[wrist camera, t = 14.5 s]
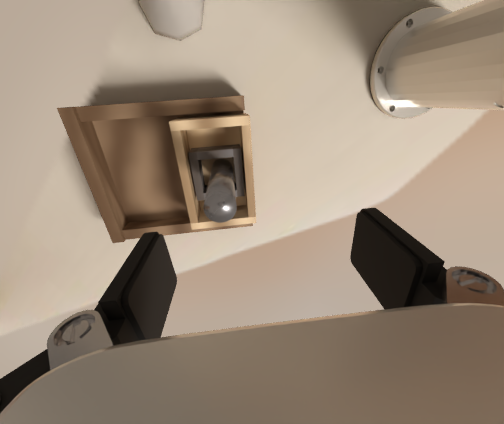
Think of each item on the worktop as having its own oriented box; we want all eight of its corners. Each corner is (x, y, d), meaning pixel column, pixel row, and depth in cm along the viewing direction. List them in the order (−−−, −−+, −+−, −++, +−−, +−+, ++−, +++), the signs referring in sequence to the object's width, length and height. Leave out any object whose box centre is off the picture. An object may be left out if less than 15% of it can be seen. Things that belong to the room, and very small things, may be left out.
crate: (245, 113, 30) (249, 115, 25) (252, 207, 36) (256, 222, 32) (177, 118, 29) (168, 121, 25) (196, 213, 35) (191, 229, 31)
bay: (241, 96, 30) (244, 95, 26) (250, 215, 38) (253, 227, 35) (78, 107, 29) (56, 108, 25) (124, 228, 37) (112, 242, 33)
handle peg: (231, 157, 31) (235, 191, 20) (233, 178, 33) (238, 220, 21) (210, 159, 31) (200, 194, 20) (213, 180, 33) (206, 224, 21)
